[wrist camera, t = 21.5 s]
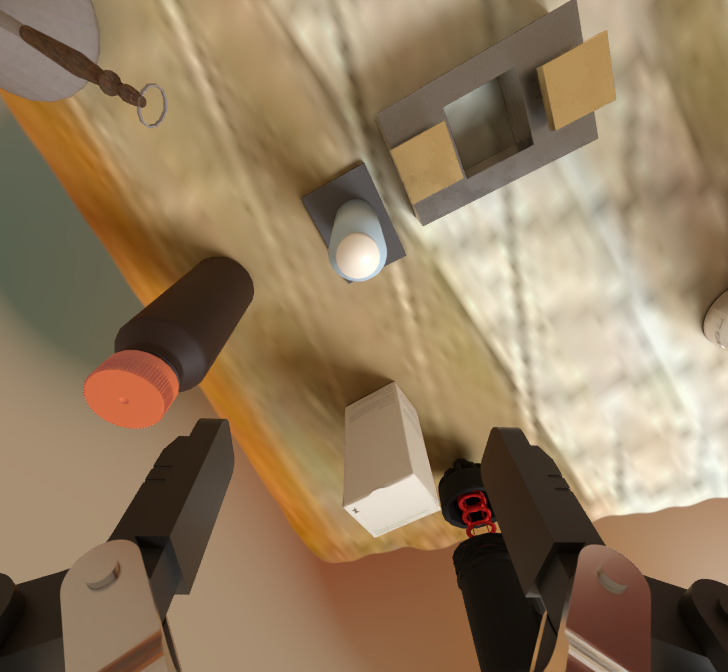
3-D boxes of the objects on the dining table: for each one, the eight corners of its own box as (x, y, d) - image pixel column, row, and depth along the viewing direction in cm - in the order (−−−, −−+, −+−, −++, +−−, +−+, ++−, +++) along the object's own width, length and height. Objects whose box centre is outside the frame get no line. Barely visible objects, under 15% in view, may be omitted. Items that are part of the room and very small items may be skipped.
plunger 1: (432, 122, 32) (444, 120, 27) (449, 173, 34) (463, 178, 29) (385, 148, 32) (390, 150, 28) (405, 196, 34) (412, 204, 30)
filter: (464, 494, 58) (554, 785, 32) (416, 477, 56) (471, 775, 30) (517, 438, 53) (679, 737, 26) (465, 417, 50) (586, 721, 24)
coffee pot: (-39, 60, 30) (-342, 1, 17) (-44, -124, 25) (-477, -406, 12) (215, 181, 35) (133, 209, 22) (252, 48, 30) (173, -20, 17)
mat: (364, 162, 34) (364, 163, 34) (405, 254, 39) (406, 255, 38) (301, 197, 36) (300, 198, 35) (348, 282, 40) (348, 283, 40)
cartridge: (335, 197, 35) (328, 224, 25) (380, 200, 36) (391, 229, 25) (334, 241, 38) (326, 284, 27) (376, 244, 38) (384, 287, 27)
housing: (549, 13, 29) (575, -3, 26) (573, 138, 34) (598, 138, 30) (374, 116, 33) (376, 113, 29) (416, 217, 37) (422, 226, 34)
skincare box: (367, 434, 52) (372, 541, 38) (342, 404, 49) (337, 508, 35) (419, 409, 50) (444, 513, 36) (395, 376, 47) (412, 475, 33)
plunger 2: (570, 45, 29) (606, 30, 25) (580, 104, 31) (615, 99, 27) (516, 75, 30) (542, 66, 26) (529, 131, 32) (555, 130, 28)
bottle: (190, 250, 38) (53, 347, 21) (255, 260, 39) (175, 362, 21) (194, 308, 41) (77, 434, 24) (254, 316, 42) (183, 444, 25)
